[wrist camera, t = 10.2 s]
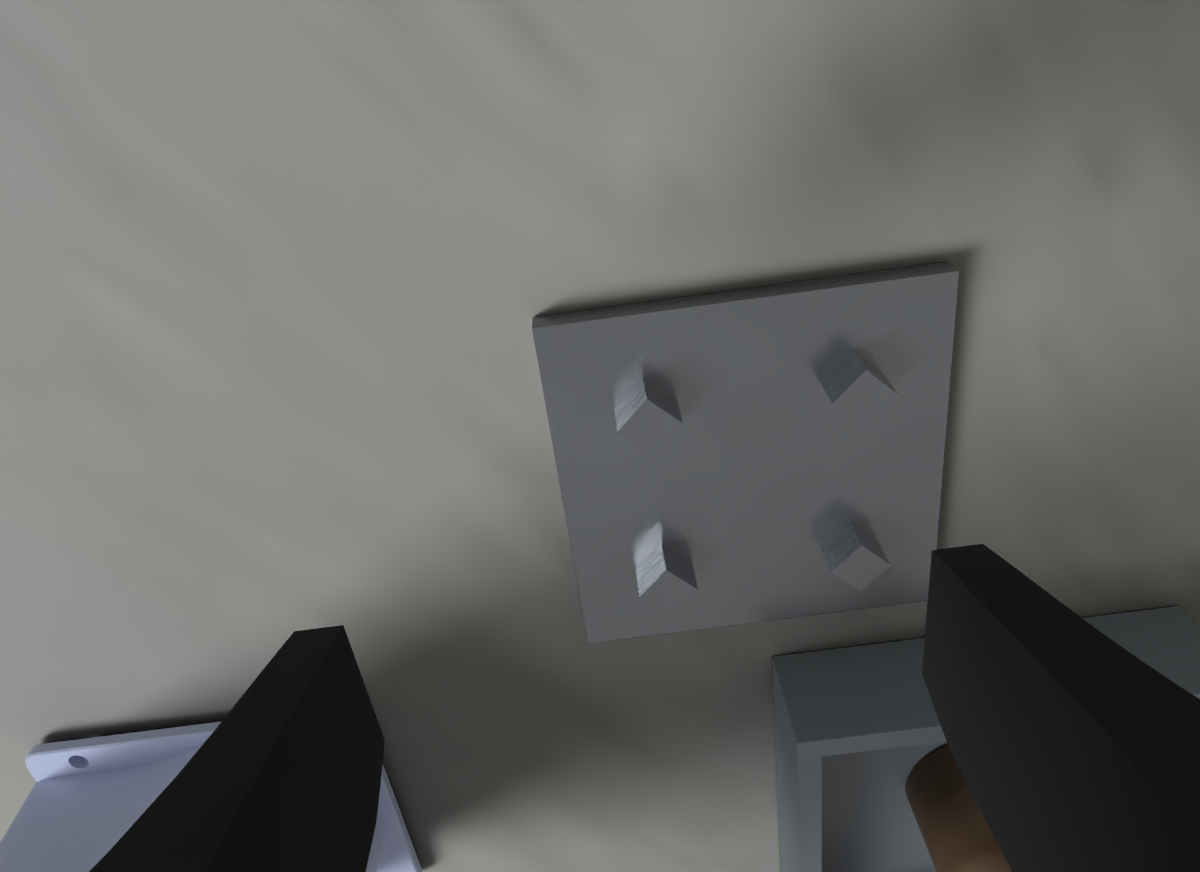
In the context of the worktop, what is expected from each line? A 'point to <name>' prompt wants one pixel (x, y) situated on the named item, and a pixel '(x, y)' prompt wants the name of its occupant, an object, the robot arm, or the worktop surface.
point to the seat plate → (752, 448)
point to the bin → (895, 740)
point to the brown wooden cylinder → (951, 817)
